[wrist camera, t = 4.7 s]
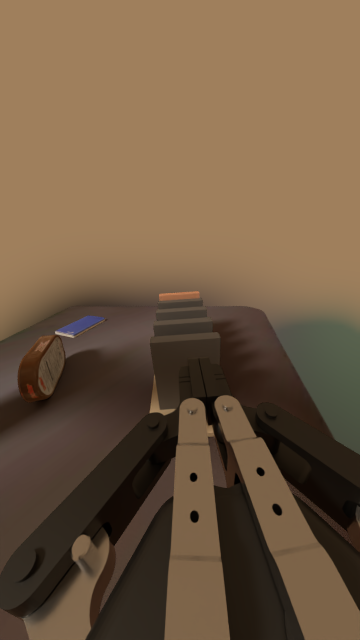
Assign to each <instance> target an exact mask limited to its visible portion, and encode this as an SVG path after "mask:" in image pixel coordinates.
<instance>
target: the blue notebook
mask: <svg viewBox="0 0 360 640" xmlns="http://www.w3.org/2000/svg"><path fill="white" fill-rule="evenodd" d="M104 321H105V318H102V317H95V316H86V317H84V318H82V319H80V320H78V321H76V322H74V323H72V324H69V325H67V326H65V327H63V328H61V329H59V330H57V331H55V333H56V334H59V335H63V336H68V337H73V338H75V337H77V336H79V335H80V334H82V333H84V332H86V331H88V330H89V329H91V328H93V327H95V326H96V325H98V324H100V323H102V322H104Z"/></svg>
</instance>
